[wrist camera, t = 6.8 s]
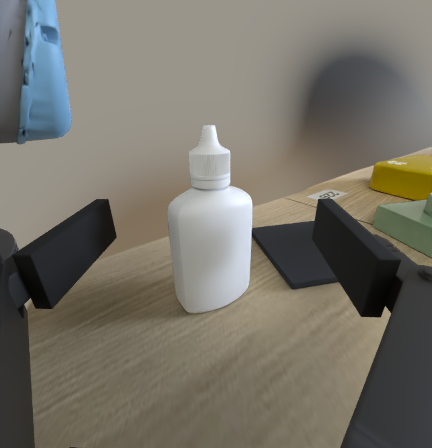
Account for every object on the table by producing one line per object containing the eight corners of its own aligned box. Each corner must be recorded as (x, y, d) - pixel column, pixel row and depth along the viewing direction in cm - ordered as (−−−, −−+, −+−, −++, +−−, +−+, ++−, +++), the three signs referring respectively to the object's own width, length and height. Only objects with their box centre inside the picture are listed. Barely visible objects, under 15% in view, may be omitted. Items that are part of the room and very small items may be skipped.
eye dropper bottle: (180, 277, 20) (164, 124, 15) (246, 274, 21) (251, 122, 16) (173, 316, 17) (149, 129, 11) (255, 313, 17) (267, 126, 12)
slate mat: (292, 289, 19) (292, 283, 19) (249, 232, 28) (249, 228, 27) (399, 271, 21) (402, 265, 20) (327, 223, 29) (328, 219, 29)
